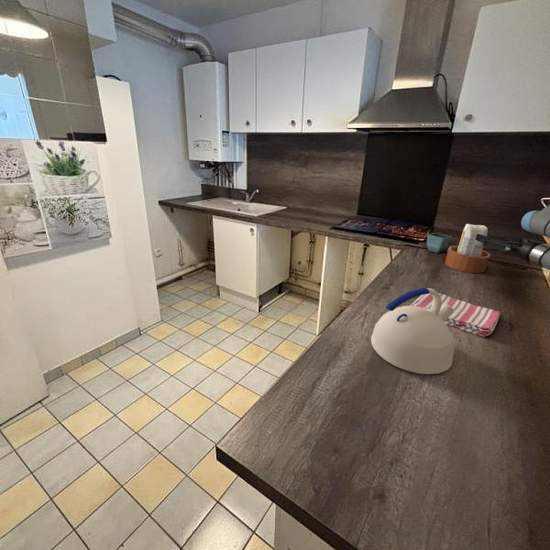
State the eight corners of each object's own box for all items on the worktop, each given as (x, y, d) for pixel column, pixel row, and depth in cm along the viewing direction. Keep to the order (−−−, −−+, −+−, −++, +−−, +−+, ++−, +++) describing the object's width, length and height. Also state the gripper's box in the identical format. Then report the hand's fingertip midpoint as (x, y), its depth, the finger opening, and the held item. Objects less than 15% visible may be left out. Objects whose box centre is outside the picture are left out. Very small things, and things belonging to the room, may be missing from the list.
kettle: (472, 366, 72) (496, 303, 65) (402, 382, 67) (421, 314, 60) (415, 323, 90) (429, 269, 83) (356, 332, 84) (365, 275, 77)
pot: (487, 266, 139) (492, 251, 136) (482, 276, 128) (488, 260, 125) (448, 257, 149) (452, 243, 146) (441, 266, 137) (445, 251, 134)
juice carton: (477, 269, 134) (490, 228, 126) (456, 266, 136) (468, 226, 128) (472, 263, 140) (485, 224, 133) (452, 261, 143) (464, 223, 135)
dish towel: (489, 340, 83) (493, 329, 82) (407, 309, 98) (409, 300, 96) (499, 318, 95) (503, 309, 93) (424, 294, 109) (426, 285, 108)
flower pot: (447, 252, 157) (452, 236, 154) (439, 255, 153) (443, 238, 149) (432, 247, 164) (436, 232, 160) (423, 250, 159) (427, 234, 156)
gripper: (502, 263, 104) (461, 245, 123) (565, 263, 106) (515, 245, 125) (509, 243, 101) (466, 228, 120) (574, 243, 103) (522, 228, 122)
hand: (491, 236), depth 123 cm, fingers open, 13 cm apart
